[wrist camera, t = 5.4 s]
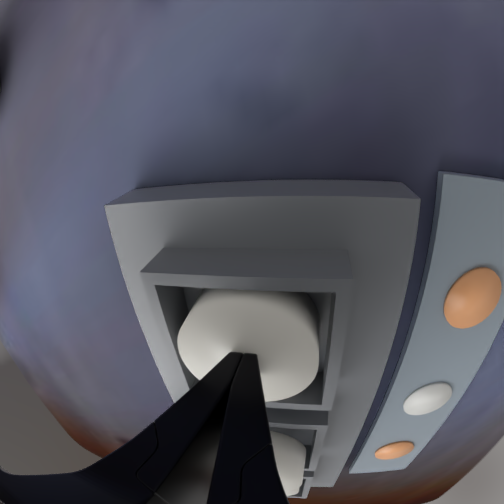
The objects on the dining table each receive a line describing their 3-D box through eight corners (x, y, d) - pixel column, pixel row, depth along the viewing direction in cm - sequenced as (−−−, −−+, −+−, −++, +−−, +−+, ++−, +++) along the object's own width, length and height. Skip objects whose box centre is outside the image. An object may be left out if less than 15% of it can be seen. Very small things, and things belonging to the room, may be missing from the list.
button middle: (303, 466, 12) (299, 494, 11) (224, 457, 13) (215, 483, 12) (309, 432, 10) (305, 468, 9) (208, 421, 11) (196, 454, 10)
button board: (334, 467, 19) (331, 502, 16) (219, 456, 21) (209, 489, 18) (401, 182, 9) (442, 219, 6) (133, 189, 11) (74, 223, 8)
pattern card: (404, 464, 18) (404, 470, 17) (349, 468, 19) (348, 475, 18) (534, 185, 7) (543, 190, 7) (438, 170, 8) (445, 175, 8)
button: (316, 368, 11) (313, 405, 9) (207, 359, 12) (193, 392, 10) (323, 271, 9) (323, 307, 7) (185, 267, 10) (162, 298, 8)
